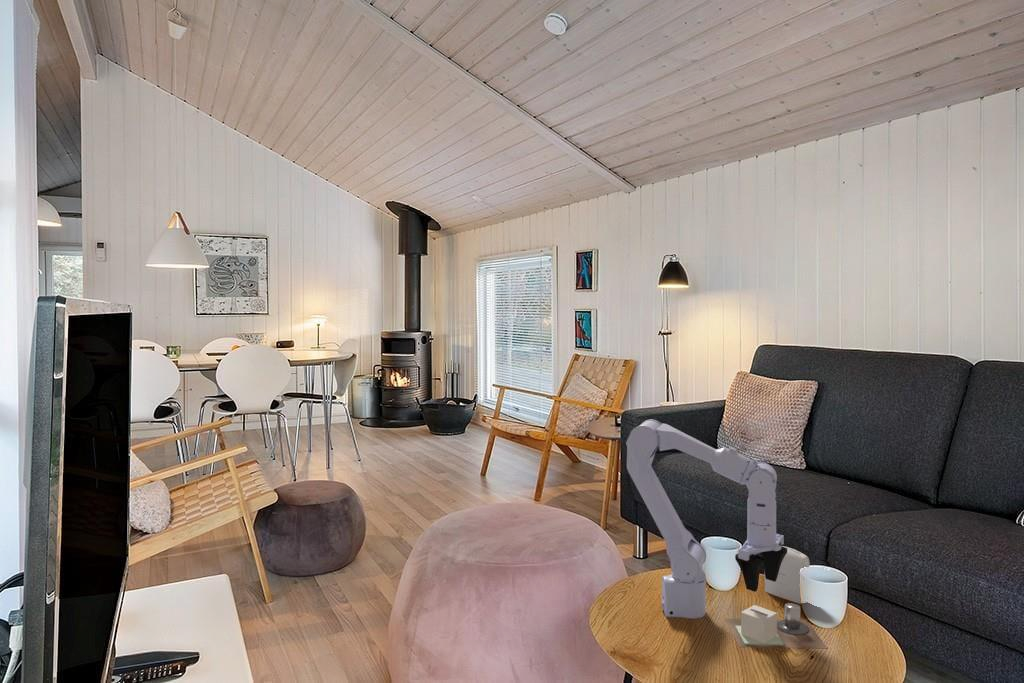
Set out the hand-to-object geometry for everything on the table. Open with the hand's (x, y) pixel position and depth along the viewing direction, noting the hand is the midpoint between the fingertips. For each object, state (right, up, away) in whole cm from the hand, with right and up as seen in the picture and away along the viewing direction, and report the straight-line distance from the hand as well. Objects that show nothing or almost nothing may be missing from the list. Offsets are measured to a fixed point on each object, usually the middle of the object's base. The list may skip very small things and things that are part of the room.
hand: (761, 584), depth 143 cm
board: (+1, -10, -4) cm, 10 cm away
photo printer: (+11, -9, +14) cm, 20 cm away
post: (+6, -8, -2) cm, 10 cm away
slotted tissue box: (-3, -8, -5) cm, 10 cm away
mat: (-3, -9, -5) cm, 10 cm away
